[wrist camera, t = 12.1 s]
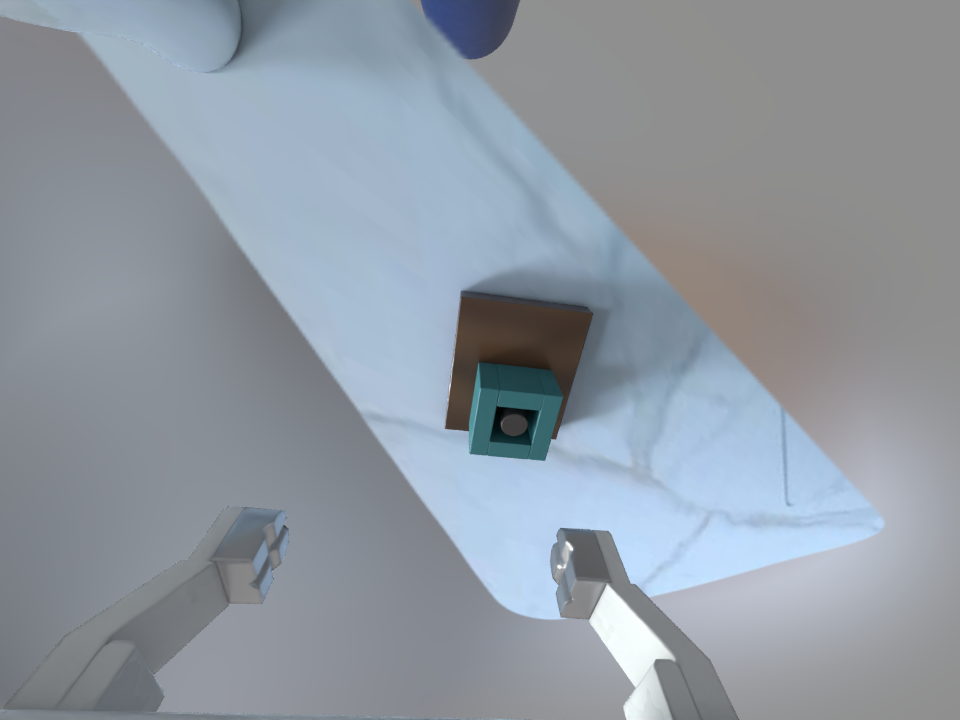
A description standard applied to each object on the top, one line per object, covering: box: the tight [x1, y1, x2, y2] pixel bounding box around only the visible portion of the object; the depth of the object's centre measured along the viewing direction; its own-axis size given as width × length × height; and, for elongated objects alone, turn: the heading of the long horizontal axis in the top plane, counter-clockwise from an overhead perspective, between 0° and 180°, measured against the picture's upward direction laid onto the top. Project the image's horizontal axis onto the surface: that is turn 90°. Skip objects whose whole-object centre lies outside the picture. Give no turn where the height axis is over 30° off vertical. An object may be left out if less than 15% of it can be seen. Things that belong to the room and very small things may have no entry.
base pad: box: [445, 291, 593, 439], centre depth 29 cm, size 12×10×6 cm
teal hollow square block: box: [469, 362, 563, 461], centre depth 29 cm, size 6×6×4 cm
